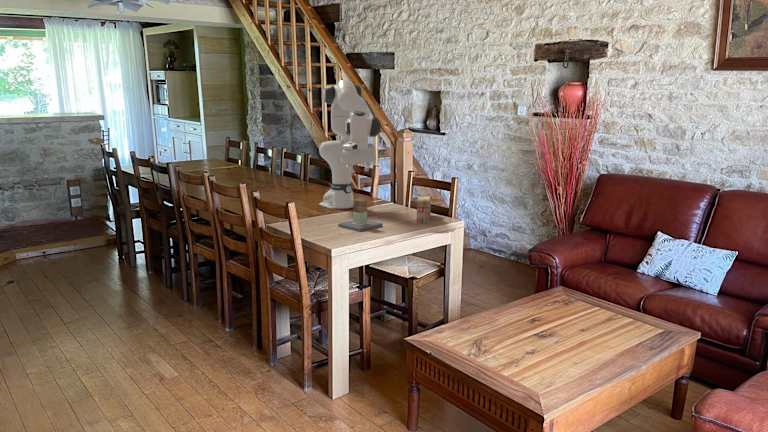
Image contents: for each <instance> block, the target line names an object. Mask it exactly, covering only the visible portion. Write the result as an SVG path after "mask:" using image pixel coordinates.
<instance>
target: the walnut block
mask: <svg viewBox="0 0 768 432" xmlns="http://www.w3.org/2000/svg"><path fill="white" fill-rule="evenodd" d="M353 212H357V213H362V212H367V213H368V199H365V198H364V199H363V198H357V199H354V200H353V207H352V213H353Z"/></svg>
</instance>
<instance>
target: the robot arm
mask: <svg viewBox="0 0 768 432" xmlns="http://www.w3.org/2000/svg"><path fill="white" fill-rule="evenodd" d="M322 98H323V100H324V103H325V104H326V105H331V107H330V109H331V110H330V127H331V131H332V132H333V133H334V134H336V135H338V136H340V137H341V140H327V141H324V142H323V141H322V143H320V145H319V148H318V152H319V155H320V157H321V158H322V159H323V160H325V161H326V162H327V164H328V165H329V167H330V170H331V175H332V176H331V177H332V183H330V184H329V186H330V189H329V190H328V191H327V192H326V193H324V195H323V196H322V197H323V199H322V201H321V202H319V204H318V205H319V206H321V207H325V208H328V209H331V210H332V209H338V210H339V209H351V208H353V200H355V199H354V192H353V190H352V189H353V182H352V175H353V174H355V173H356V170H355V169H354V165H361V164H365V167H364V172H366V173H367V172H369V171H370V167H371V163H374V162H376V160H377V154H376V147H375V145H374V144H373V143H369V137H370V138H371V137H373V138H375V137H377V136H378V135H380V133H381V131H382V123H381V120H380V119H379V118H378V117H377V116H376V114H375V113H374V111H373V109H372V107H371V105H370V104H369V102H368V101H367V100H366V99H364V98H363V90H362V87H361V86H360V85H359V84H354V83H353V82H352V81H351V80H350V79H346V78H344V79H341V80H339V82H337V84H334V85H333V84H328V85H326V86H325V87H324V88H323V90H322Z"/></svg>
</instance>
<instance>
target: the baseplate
mask: <svg viewBox="0 0 768 432" xmlns="http://www.w3.org/2000/svg"><path fill="white" fill-rule="evenodd" d="M337 226H338V227H339V228H343V229H346V230H350V231H351V230H352V231H355V232H364V231H367V230H373V229H376V228H381V227H383V223H382V222H378V221H374V220H369V219H367V223H365V224H361V225H360V224H355V223H353V219H352V220H348V221H344V222H340V223H339V222H338V224H337Z"/></svg>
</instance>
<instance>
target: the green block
mask: <svg viewBox="0 0 768 432" xmlns="http://www.w3.org/2000/svg"><path fill="white" fill-rule="evenodd" d="M352 215H353V216H352V217H353V219H352V220H353V223H355V224H360V225H361V224H365V223H367V220H368V211H367V212H362V213H357V212H353V211H352Z"/></svg>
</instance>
